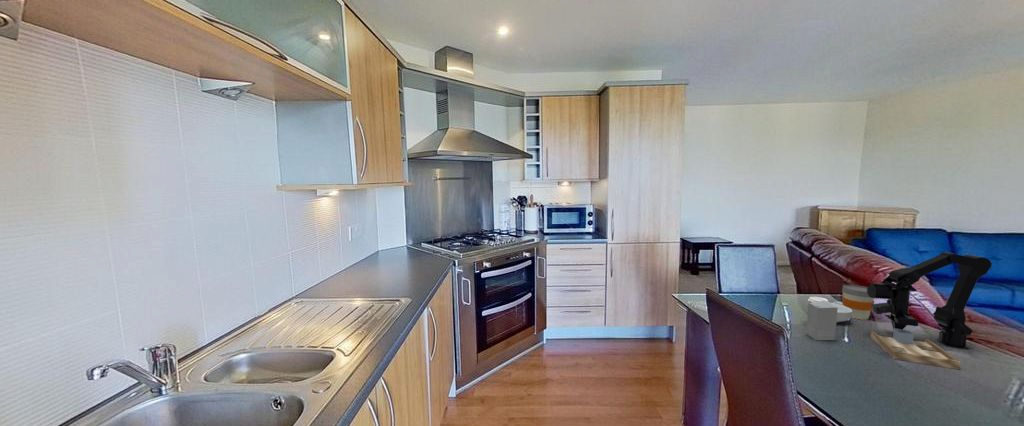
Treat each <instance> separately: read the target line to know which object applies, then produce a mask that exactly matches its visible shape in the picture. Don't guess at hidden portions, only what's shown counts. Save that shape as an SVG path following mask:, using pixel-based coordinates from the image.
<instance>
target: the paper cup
mask: <svg viewBox="0 0 1024 426" xmlns="http://www.w3.org/2000/svg"><path fill="white" fill-rule="evenodd" d="M807 301H808V303H809V302H810V303H814V302H816V303H817V302H827V303H830V302H829V300H828V299H827V298H824V297H820V296H809V298H808V299H807Z"/></svg>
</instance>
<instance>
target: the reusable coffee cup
mask: <svg viewBox="0 0 1024 426" xmlns="http://www.w3.org/2000/svg"><path fill="white" fill-rule="evenodd" d="M868 287H869V286H868ZM868 287H867V286H863V285H855V284H844V285H842V288H841V292H842V296H841V301H842V305H843V306H846V307H848V308H850V309H852V311H853V312H852V316H851V318H852V319H858V320H869V318H870V315H871V311H873V309H872V307H871V305H872V304H875V298H871V297H869V295H868V293H867V288H868Z"/></svg>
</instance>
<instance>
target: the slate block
mask: <svg viewBox="0 0 1024 426" xmlns="http://www.w3.org/2000/svg"><path fill="white" fill-rule="evenodd" d="M892 333H893V334H892V338H893V339H895V340H896V341H897V342H899V343H906V344H913V341H914V335H915V334H914V333H913V332H912V331H910V330H907V329H903V330H902V329H895V328H894V330H893V332H892Z"/></svg>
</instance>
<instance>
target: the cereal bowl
mask: <svg viewBox="0 0 1024 426" xmlns="http://www.w3.org/2000/svg"><path fill="white" fill-rule="evenodd" d="M829 303H830V304H832V305H833V306H836V307H837V308H838V310H837V322H836V323H840V322H845V321H849V320H850V319H851V318H852V317H851V316H852V312H853V311H852V309H850V308H848V307H846V306H844V305H843V304H839V303H835V302H829Z"/></svg>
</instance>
